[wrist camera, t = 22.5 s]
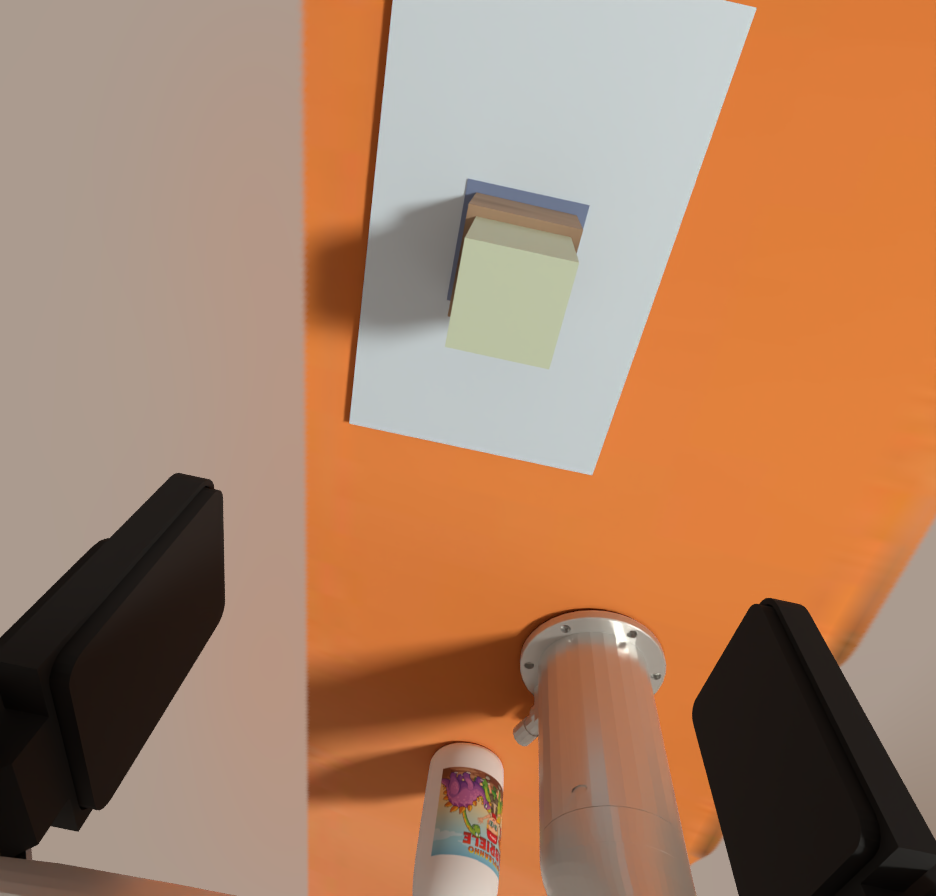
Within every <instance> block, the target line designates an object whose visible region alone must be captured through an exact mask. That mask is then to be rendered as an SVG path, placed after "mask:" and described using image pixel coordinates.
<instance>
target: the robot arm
mask: <svg viewBox="0 0 936 896" xmlns="http://www.w3.org/2000/svg"><path fill="white" fill-rule="evenodd" d="M224 583H225V581H224V530H223V495H222V492H221V491H219V490H215V489H214V484H213V482H212V481H211V480H209V479H205V478H200V477H195V476H191V475H186V474H181V473H176V474H174V475H172V476H171V477H170V478H169V479H168V480H167V481H166V482H165V483H164V484H163V485H162V486H161V487H160V488H159V489H158V490H157V491H156V492H155V493H154V494H153V495H152V496H151V497H150V498H149V499H148V500H147V501H146V502H145V503H144V504H143V505H142V506H141V507H140V508H139V509H138V510H137V511H136V512H135V513H134V514H133V515H132V516H131V517H130V518H129V519H128V521H126V522H125V523H124V524H123V525H122V526H121V527H120V528H119V530H117V531H116V532H115V533H114V534H113V535H112V536H111V537H110V538H107V539H104V540H101V541H99V542H98V543H97V544H95V545H94V546H93V547H92V548H91V549H90V550H89V551H88V552H87V553H86V554H84V556H83V557H81V558H80V559H79V560H78V561H77V563H75V564H74V565H73V566H72V567H71V568H70V569H69V570H68V571H67V572H66V573H65V574H64V575H63V576H62V577H61V578H60V579H59V580H58V581H57V582H56V583H55V584H54V585H53V586H52V587H51V588H50V589H49V590H48V591H47V592H46V593H45V594H44V595H43V596H42V597H41V598H40V599H39V600H38V601H37V602H36V603H35V604H34V605H33V606H32V607H31V608H30V609H29V610H28V611H27V612H26V613H25V614H24V615H23V616H22V617H21V618H20V619H19V620H18V621H17V622H16V623H15V624H14V625H13V626H12V627H11V628H10V629H9V630H8V631H6V632H5V633H4V634H3V636H1V638H0V896H235V895H229V894H224V893H219V892H214V891H209V890H204V889H199V888H194V887H189V886H183V885H178V884H173V883H167V882H162V881H155V880H150V879H145V878H138V877H133V876H128V875H121V874H116V873H110V872H105V871H99V870H94V869H88V868H82V867H76V866H70V865H65V864H59V863H51V862H42V861H35V860H32V852H31V848H32V847H34V846H36V845H38V844H39V842H40V841H41V839H42V838H43V836H44V835H45V833H46V832H47V830H48V829H49V827H50V826H53V827H58V828H63V829H68V830H73V831H79V830H80V828H81V827H82V825H83V823H84V822H85V820H86V819H87V817H88V816H89V814H90V812H91V811H92V809H95V810H101V809H103V808H104V807H105V806H106V805H107V804H108V802H109V801H110V800H111V798H112V797H113V795H114V793H115V792H116V790H117V788H118V787H119V785H120V784H121V781H122V780H123V778H124V777H125V775H126V774H127V772H128V770H129V769H130V767H131V766H132V764H133V762H134V761H135V759H136V757H137V756H138V754H139V753H140V751H141V749H142V748H143V746H144V744H145V743H146V741H147V739H148V738H149V736H150V735H151V733H152V731H153V730H154V728H155V726H156V725H157V723H158V721H159V720H160V718H161V717H162V715H163V713H164V712H165V710H166V708H167V707H168V705H169V703H170V702H171V700H172V699H173V697H174V695H175V694H176V692H177V691H178V689H179V687H180V686H181V684H182V682H183V681H184V679H185V677H186V676H187V674H188V673H189V671H190V669H191V668H192V666H193V664H194V663H195V661H196V660H197V658H198V656H199V655H200V653H201V651H202V650H203V648H204V646H205V645H206V643H207V642H208V640H209V638H210V637H211V635H212V633H213V632H214V630H215V628H216V627H217V625H218V623H219V621H220V619H221V617H222V614H223V611H224V606H225V584H224ZM520 672H521V676H522V680H523V682H524V683H525V685H526V687H527V689H528V690H529V691H530V692H531V693H532V694H533V696H534V705H533V706H532V707H531V709H530V715H529V716H528V717H525V718H524V719H523V720H522V721H521V722H520V723H519V724H518V725H516V726H515V728H514V729H513V735H514V738H515V740H516V741H517V742H518V743H519V744H520V745H522V746H527V745H529V744H530V743H531V742H532V741H533V740H534V739H536V738H537V737H538V742H539V830H540V868H541V875H542V879H543V884H544V887H545V890H546V893H547V896H696V891H695V887H694V883H693V879H692V874H691V869H690V865H689V860H688V855H687V851H686V846H685V842H684V837H683V832H682V827H681V823H680V818H679V813H678V808H677V804H676V799H675V794H674V789H673V785H672V780H671V775H670V770H669V766H668V761H667V756H666V751H665V747H664V742H663V737H662V732H661V728H660V723H659V718H658V713H657V709H656V704H655V699H654V694H655V693H656V692H657V691H658V689H659V688H660V686H661V685H662V683H663V680H664V677H665V674H666V661H665V657H664V652H663V649H662V647H661V644H660V642H659V641H658V639H657V638H656V637H655V635H654V634H653V633H652V632H651V631H650V630H649V629H648V628H646V627H645V626H644V625H642V624H641V623H639V622H637V621H636V620H634V619H632V618H629V617H627V616H624V615H621V614H617V613H613V612H608V611H597V610H587V611H576V612H571V613H566V614H563V615H560V616H557V617H555V618H552V619H550V620H548V621H547V622H545V623H543V624H541V625H540V626H539V627H538V628H536V629H535V630H534V631H533V632H532V633H531V634H530V636H529V637H528V638H527V639H526V641H525V643H524V645H523V648H522V650H521V657H520ZM692 719H693V724H694V728H695V732H696V736H697V740H698V743H699V747H700V751H701V755H702V758H703V762H704V766H705V770H706V773H707V777H708V781H709V785H710V789H711V792H712V796H713V800H714V804H715V807H716V811H717V815H718V819H719V822H720V826H721V830H722V834H723V838H724V841H725V845H726V849H727V852H728V856H729V860H730V864H731V868H732V871H733V875H734V879H735V883H736V887H737V890H738V894H739V896H936V840H935V839H934V837H933V835H932V833H931V831H930V830H929V828H928V826H927V824H926V822H925V821H924V819H923V817H922V815H921V814H920V812H919V810H918V808H917V807H916V804H915V803H914V801H913V799H912V797H911V795H910V794H909V792H908V790H907V788H906V786H905V785H904V783H903V781H902V779H901V777H900V776H899V774H898V772H897V770H896V768H895V767H894V765H893V763H892V761H891V760H890V758H889V756H888V754H887V752H886V750H885V749H884V747H883V745H882V743H881V741H880V740H879V738H878V736H877V734H876V732H875V731H874V729H873V727H872V725H871V723H870V722H869V720H868V718H867V716H866V714H865V713H864V711H863V709H862V707H861V705H860V704H859V702H858V700H857V698H856V696H855V695H854V693H853V691H852V689H851V687H850V686H849V684H848V682H847V680H846V679H845V677H844V675H843V673H842V671H841V669H840V668H839V666H838V664H837V662H836V660H835V659H834V657H833V655H832V653H831V651H830V650H829V648H828V646H827V644H826V642H825V641H824V639H823V637H822V635H821V633H820V632H819V630H818V628H817V626H816V624H815V623H814V621H813V619H812V617H811V615H810V614H809V612H808V610H807V609H806V608H805V607H804V606H802V605H800V604H796V603H791V602H786V601H782V600H777V599H772V598H766V599H764V600H763V601H762V602H761V603H760V604H754V605H752V606H751V607H750V608H749V610H748V611H747V613H746V615H745V616H744V618H743V620H742V622H741V623H740V625H739V627H738V628H737V630H736V632H735V633H734V635H733V637H732V639H731V640H730V642H729V644H728V645H727V647H726V649H725V650H724V652H723V654H722V656H721V657H720V659H719V661H718V662H717V664H716V666H715V667H714V669H713V671H712V673H711V674H710V676H709V678H708V679H707V681H706V683H705V684H704V686H703V688H702V690H701V691H700V693H699V695H698V696H697V698H696V700H695V702H694V705H693V711H692Z"/></svg>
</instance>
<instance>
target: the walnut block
mask: <svg viewBox="0 0 936 896" xmlns="http://www.w3.org/2000/svg"><path fill="white" fill-rule="evenodd" d="M476 216H477V217H481V218H486V219H490V220H495V221H499V222H504V223H508V224H513V225H517V226H522V227H526V228H531V229H535V230H540V231H545V232H549V233H554V234H558V235H563V236H567V237H571V239H572V242H573V245H574V248H575V251H576V254H577V250H578V247H579V243H580V240H581V236H582V233H583V228H582V226H581V224H580V221H579V219H578V217H577V215H573V214H569V213H564V212H560V211H556V210H551V209H547V208H543V207H538V206H534V205H530V204H525V203H521V202H517V201H512V200H508V199H503V198H499V197H495V196H490V195H486V194H482V193H477V192H476V194H475V195H474V197H473V198H472V199H471V201H470V202H469V204H468V210H467V215H466V220H465V226H464V231H463V236H462V242H461V247H460V252H459V258H458V263H457V268H456V274H455V279H454V284H453V289H452V295H451V300H450V305H449V311H448V316H449V317H450V316H451V310H452V305H453V299H454V294H455V289H456V283H457V278H458V272H459V267H460V261H461V256H462V250H463V245H464V239H465V236H466V234H467V233H468V231H469V229H470V227H471V225H472V223H473V221H474V219H475V218H476Z"/></svg>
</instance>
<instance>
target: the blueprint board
mask: <svg viewBox="0 0 936 896" xmlns="http://www.w3.org/2000/svg"><path fill="white" fill-rule="evenodd" d="M756 9H757V8H755V7H751V6H747V5H742V4H738V3H733V2H729V1H724V0H393V3H392V12H391V22H390V32H389V42H388V51H387V61H386V71H385V81H384V90H383V100H382V110H381V119H380V129H379V139H378V149H377V158H376V168H375V178H374V188H373V197H372V207H371V217H370V227H369V236H368V246H367V256H366V265H365V275H364V285H363V295H362V304H361V314H360V324H359V334H358V343H357V353H356V363H355V373H354V382H353V392H352V402H351V412H350V421H349V423H350V424H354V425H359V426H364V427H368V428H373V429H378V430H382V431H387V432H392V433H396V434H401V435H406V436H410V437H415V438H420V439H424V440H429V441H434V442H439V443H443V444H448V445H453V446H457V447H462V448H467V449H471V450H476V451H481V452H485V453H490V454H495V455H499V456H504V457H509V458H514V459H518V460H523V461H528V462H532V463H537V464H542V465H546V466H551V467H556V468H560V469H565V470H570V471H574V472H579V473H584V474H588V475H592V474H593V471H594V469H595V466H596V463H597V460H598V457H599V454H600V452H601V449H602V446H603V443H604V440H605V437H606V434H607V432H608V429H609V426H610V423H611V420H612V417H613V415H614V412H615V409H616V406H617V403H618V400H619V398H620V395H621V392H622V389H623V386H624V383H625V381H626V378H627V375H628V372H629V369H630V366H631V364H632V361H633V358H634V355H635V352H636V349H637V346H638V344H639V341H640V338H641V335H642V332H643V329H644V327H645V324H646V321H647V318H648V315H649V312H650V310H651V307H652V304H653V301H654V298H655V295H656V293H657V290H658V287H659V284H660V281H661V278H662V275H663V273H664V270H665V267H666V264H667V261H668V258H669V256H670V253H671V250H672V247H673V244H674V241H675V239H676V236H677V233H678V230H679V227H680V224H681V222H682V219H683V216H684V213H685V210H686V207H687V204H688V202H689V199H690V196H691V193H692V190H693V187H694V185H695V182H696V179H697V176H698V173H699V170H700V168H701V165H702V162H703V159H704V156H705V153H706V151H707V148H708V145H709V142H710V139H711V136H712V133H713V131H714V128H715V125H716V122H717V119H718V116H719V114H720V111H721V108H722V105H723V102H724V99H725V97H726V94H727V91H728V88H729V85H730V82H731V80H732V77H733V74H734V71H735V68H736V65H737V63H738V60H739V57H740V54H741V51H742V48H743V45H744V43H745V40H746V37H747V34H748V31H749V28H750V26H751V23H752V20H753V17H754V14H755V11H756ZM476 192H477V193H482V194H486V195H490V196H495V197H499V198H503V199H508V200H512V201H517V202H521V203H525V204H530V205H534V206H538V207H543V208H547V209H551V210H556V211H560V212H564V213H569V214H573V215H577V217H578V219H579V221H580V224H581V226H582V228H583V233H582V236H581V240H580V243H579V247H578V250H577V257H578V260H579V265H578V269H577V272H576V276H575V280H574V283H573V287H572V290H571V294H570V297H569V301H568V304H567V308H566V311H565V315H564V319H563V322H562V326H561V329H560V333H559V336H558V340H557V343H556V347H555V350H554V354H553V358H552V361H551V365H550V368H549V369H544V368H540V367H535V366H531V365H526V364H521V363H517V362H512V361H508V360H503V359H499V358H494V357H489V356H485V355H480V354H476V353H471V352H466V351H462V350H457V349H453V348H448V347H445V343H446V338H447V332H448V327H449V321H450V317H449V316H448V311H449V305H450V300H451V295H452V289H453V284H454V279H455V274H456V268H457V263H458V258H459V252H460V247H461V242H462V236H463V231H464V226H465V220H466V215H467V210H468V204H469V202H470V201H471V199H472V198H473V197H474V195H475V194H476Z"/></svg>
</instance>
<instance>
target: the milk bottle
mask: <svg viewBox="0 0 936 896" xmlns="http://www.w3.org/2000/svg"><path fill="white" fill-rule="evenodd" d="M503 781H504V770H503V766H502V763H501V761H500V759H499V758H498V756H497V755H496V754H495V753H493V752H492V751H491V750H489V749H487V748H485V747H483V746H480V745H477V744H472V743H453V744H449V745H446V746H444V747H442V748H440V749H439V750H438V751H437V752H436V753H435V754H434V756H433V757H432V759H431V762H430V767H429V773H428V779H427V785H426V791H425V798H424V804H423V811H422V817H421V824H420V831H419V837H418V844H417V851H416V858H415V867H414V875H413V896H497V892H498V882H499V869H500V850H501V830H502V806H503Z"/></svg>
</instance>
